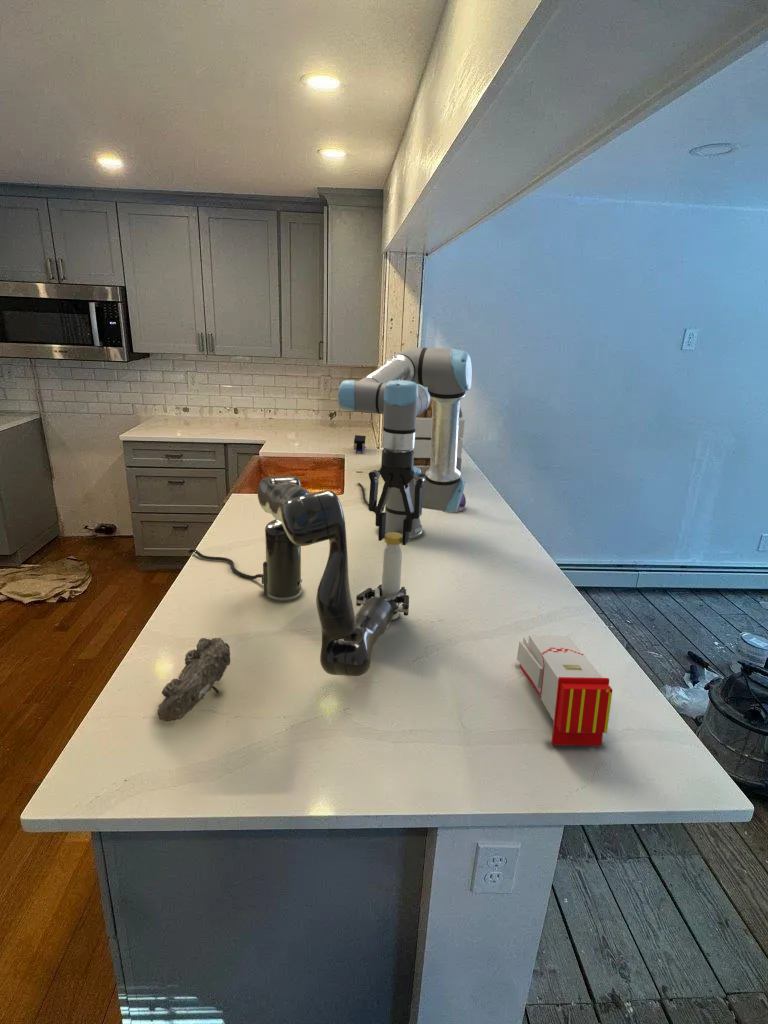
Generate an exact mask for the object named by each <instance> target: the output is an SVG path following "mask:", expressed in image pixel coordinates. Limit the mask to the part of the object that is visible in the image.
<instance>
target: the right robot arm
mask: <svg viewBox="0 0 768 1024" xmlns="http://www.w3.org/2000/svg"><path fill="white" fill-rule="evenodd" d="M472 379H473V367H472V359H471V356H470V354H469V353H468V352H467V351H466V350H464V349H463V350H462V349H455V348H440V347H439V348H437V347H425V346H424V347H422V346H419V347H411V348H407V349H404V350H401V351H398V352H396V353H394V354H392V355H390V356H389V357H387V358H386V360H385V362H384V363H383V364H382V365H381V366H380V367H379V368H377V369H375V370H374V371H372V372H371V373H369V374H368V375H365V376H364V377H363V378H361V379H360V380H354V379H350V380H349V379H346V380H343V381H342V382H341V383H340V385H339V387H338V390H337V401H338V405H339V408H340V409H341V410H343V411H349V412H352V413H355V412H356V413H364V414H365V413H367V414H377V415H383V418H382V420H383V421H382V423H383V424H382V442H381V447H382V449H381V466H380V468H379V469H377V470H376V469H373V470H371V471H370V472H369V473H368V477H369V481H370V482H369V494H368V495H369V496H368V501H367V499H366V493H365V488H364V486H363V485H362V484H361V483H360V482H357V484H358V485H359V487H360V488H361V490H362V500H363V501H364V503H365V504H366V506H368V508H367V509H368V511H369V512H373V513H374V514H375V527H377V528H378V537H377V538H378V539H377V540H378V541H379V542H382V541H383V540H385V534H386V533H389V532H396V533H400V534H402V535H403V537H402V543H401V546H406V545H407V544H408V542H409V541H410V540H415V539H418V538H420V537H421V536H422V535H423V525H422V524H421V518H420V517H421V516H422V514H423V509H425V510H433V511H439V512H440V511H441V512H443V513H445V512H447V513H456V512H455V511H456V510H457V509H458V507H459V505H460V502H461V498H462V495H463V493H464V490H465V485H466V479H464V478H462V477H460V471H459V470H457V469H456V462H457V444H458V427H459V409H460V408H461V400H462V399H463V398H464V397H465V396H466V392H467V391H470V390H471V387H472V382H473V381H472ZM430 397H431V398H432V426H431V459H430V466H429V468H428V469H427V470H426V471H425V473H422V469H421V468H419V467H417V466H413V463H414V451H413V450H412V449H414V445H415V428H416V416H418V415H420V414H422V413H424V411H425V410H426V409H427V408H428V406H429V403H430ZM380 478H382V480H383V482H384V483H383V486H382V491H381V494H380V496H379V495H378V493H379V483H380V482H379V481H380V480H379V479H380ZM378 496H379V500H378Z"/></svg>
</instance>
